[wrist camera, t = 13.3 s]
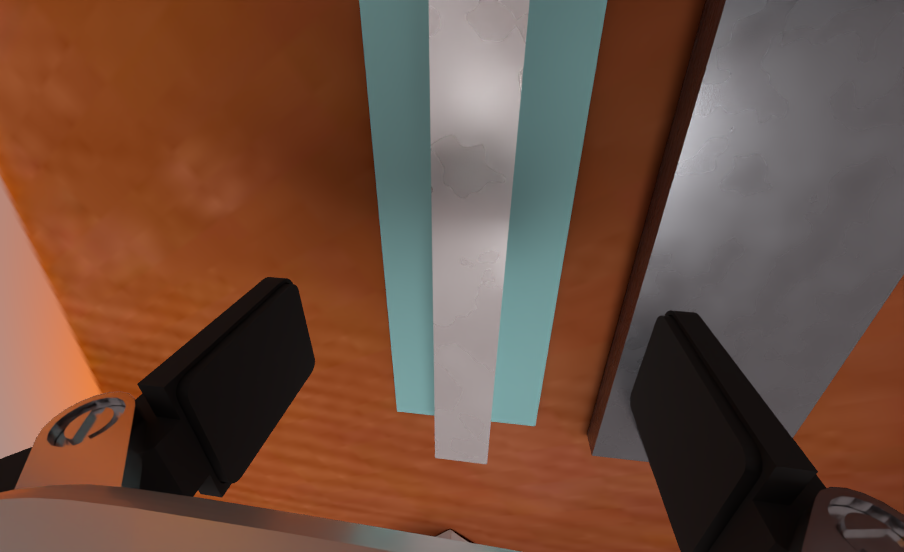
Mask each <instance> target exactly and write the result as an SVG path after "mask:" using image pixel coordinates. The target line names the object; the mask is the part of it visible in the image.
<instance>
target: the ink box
mask: <svg viewBox="0 0 904 552" xmlns="http://www.w3.org/2000/svg"><path fill="white" fill-rule="evenodd" d="M436 537H439V538H445V539H451V540H456V541H462V542H468V541H466V540H465V539H463V538H462V537H460V536H459V535H457V534H456V533H455V532H453V531H452V530H448V531H446V532H444V533H442V534H440V535H438V536H436ZM468 543H469V542H468Z"/></svg>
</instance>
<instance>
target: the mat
mask: <svg viewBox="0 0 904 552" xmlns="http://www.w3.org/2000/svg"><path fill="white" fill-rule="evenodd" d="M359 4H360V15H361V26H362V37H363V47H364V58H365V69H366V80H367V91H368V102H369V112H370V123H371V134H372V145H373V156H374V166H375V177H376V188H377V199H378V210H379V220H380V231H381V242H382V253H383V264H384V274H385V285H386V296H387V307H388V318H389V328H390V339H391V350H392V361H393V372H394V382H395V393H396V404H397V411H398V412H408V413H417V414H426V415H435V407H434V339H433V271H432V202H431V134H430V66H429V0H359ZM606 5H607V0H530V2H529V13H528V23H527V34H526V45H525V56H524V67H523V78H522V89H521V99H520V110H519V121H518V132H517V143H516V154H515V165H514V175H513V186H512V197H511V208H510V219H509V230H508V240H507V251H506V262H505V273H504V284H503V295H502V306H501V316H500V327H499V338H498V349H497V360H496V371H495V382H494V392H493V403H492V414H491V421H492V422H501V423H510V424H520V425H529V426H535V424H536V418H537V412H538V407H539V401H540V395H541V389H542V383H543V377H544V371H545V365H546V359H547V353H548V348H549V342H550V336H551V330H552V324H553V318H554V312H555V306H556V300H557V294H558V288H559V283H560V277H561V271H562V265H563V259H564V253H565V247H566V241H567V235H568V229H569V224H570V218H571V212H572V206H573V200H574V194H575V188H576V182H577V176H578V170H579V164H580V159H581V153H582V147H583V141H584V135H585V129H586V123H587V117H588V111H589V105H590V100H591V94H592V88H593V82H594V76H595V70H596V64H597V58H598V52H599V46H600V40H601V35H602V29H603V23H604V17H605V11H606Z"/></svg>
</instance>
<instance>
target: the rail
mask: <svg viewBox="0 0 904 552" xmlns="http://www.w3.org/2000/svg"><path fill="white" fill-rule="evenodd" d="M529 2H530V0H429V66H430V134H431V202H432V271H433V339H434V407H435V458H441V459H449V460H457V461H465V462H473V463H481V464H487V457H488V447H489V436H490V425H491V414H492V403H493V392H494V382H495V371H496V360H497V349H498V338H499V327H500V316H501V306H502V295H503V284H504V273H505V262H506V251H507V240H508V230H509V219H510V208H511V197H512V186H513V175H514V165H515V154H516V143H517V132H518V121H519V110H520V99H521V89H522V78H523V67H524V56H525V45H526V34H527V23H528V13H529Z"/></svg>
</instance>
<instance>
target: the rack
mask: <svg viewBox="0 0 904 552" xmlns="http://www.w3.org/2000/svg"><path fill="white" fill-rule="evenodd" d="M903 275H904V0H706V2H705V6H704V9H703V13H702V17H701V20H700V24H699V27H698V31H697V35H696V38H695V42H694V46H693V49H692V53H691V57H690V60H689V64H688V68H687V71H686V75H685V79H684V82H683V86H682V90H681V93H680V97H679V101H678V104H677V108H676V112H675V115H674V119H673V123H672V126H671V130H670V134H669V137H668V141H667V145H666V148H665V152H664V155H663V159H662V163H661V166H660V170H659V174H658V177H657V181H656V185H655V188H654V192H653V196H652V199H651V203H650V207H649V210H648V214H647V218H646V221H645V225H644V229H643V232H642V236H641V240H640V243H639V247H638V251H637V254H636V258H635V262H634V265H633V269H632V272H631V276H630V280H629V283H628V287H627V291H626V294H625V298H624V302H623V305H622V309H621V313H620V316H619V320H618V324H617V327H616V331H615V335H614V338H613V342H612V346H611V349H610V353H609V357H608V360H607V364H606V368H605V371H604V375H603V379H602V382H601V386H600V390H599V393H598V397H597V400H596V404H595V408H594V411H593V415H592V419H591V422H590V426H589V430H588V433H587V436H588V441H589V445H590V449H591V454H592V456H601V457H610V458H619V459H628V460H636V461H645V462H649V459H648V456H647V453H646V450H645V448H644V445H643V442H642V439H641V436H640V433H639V430H638V427H637V424H636V422H635V419H634V416H633V413H632V410H631V406H630V396H631V392H632V389H633V386H634V383H635V380H636V377H637V374H638V372H639V369H640V366H641V363H642V360H643V357H644V354H645V351H646V348H647V345H648V342H649V340H650V337H651V334H652V331H653V328H654V325H655V322H656V320H657V318H658V317H659V316H664V315H665V314H666V312H667V311H670V310H672V311H685V312H695V313H697V314H698V315H699V316H700V317H701V318H702V319H703V321H704V322H705V323H706V325H707V326H708V327H709V329H710V330H711V331H712V333H713V334H714V335H715V337H716V338H717V339H718V341H719V342H720V343H721V345H722V346H723V347H724V348H725V350H726V351H727V352H728V354H729V355H730V356H731V358H732V359H733V360H734V362H735V363H736V364H737V366H738V367H739V368H740V370H741V371H742V372H743V374H744V375H745V376H746V378H747V379H748V380H749V381H750V383H751V384H752V385H753V387H754V388H755V389H756V391H757V392H758V393H759V395H760V396H761V397H762V399H763V400H764V401H765V403H766V404H767V405H768V407H769V408H770V409H771V410H772V412H773V413H774V414H775V416H776V417H777V418H778V420H779V421H780V422H781V424H782V425H783V426H784V428H785V429H786V430H787V432H788V433H789V434H790V436H791V437H792V438H793V437H794V435H795V434H796V432H797V431H798V429H799V428H800V426H801V425H802V423H803V422H804V420H805V419H806V418H807V416H808V415H809V413H810V412H811V410H812V409H813V407H814V406H815V404H816V403H817V401H818V400H819V398H820V397H821V395H822V394H823V392H824V391H825V390H826V388H827V387H828V385H829V384H830V382H831V381H832V379H833V378H834V376H835V375H836V373H837V372H838V370H839V369H840V367H841V366H842V364H843V363H844V362H845V360H846V359H847V357H848V356H849V354H850V353H851V351H852V350H853V348H854V347H855V345H856V344H857V342H858V341H859V339H860V338H861V336H862V335H863V334H864V332H865V331H866V329H867V328H868V326H869V325H870V323H871V322H872V320H873V319H874V317H875V316H876V314H877V313H878V311H879V310H880V308H881V307H882V306H883V304H884V303H885V301H886V300H887V298H888V297H889V295H890V294H891V292H892V291H893V289H894V288H895V286H896V285H897V283H898V282H899V280H900V279H901V277H902V276H903ZM649 463H650V462H649ZM650 466H651V465H650ZM651 469H652V468H651Z"/></svg>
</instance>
